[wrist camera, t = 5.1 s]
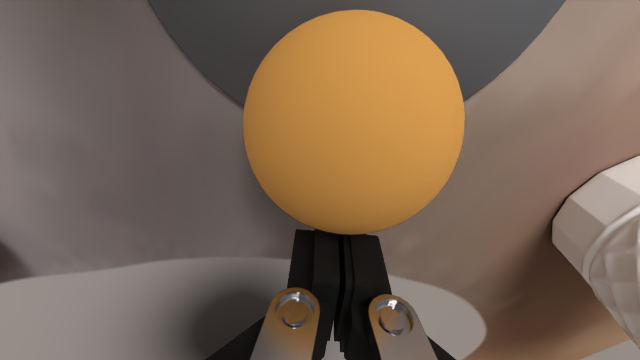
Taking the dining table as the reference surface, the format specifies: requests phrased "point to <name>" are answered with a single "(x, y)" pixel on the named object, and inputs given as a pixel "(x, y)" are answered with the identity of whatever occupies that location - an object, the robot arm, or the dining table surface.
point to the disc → (308, 3)
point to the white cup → (606, 240)
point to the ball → (353, 122)
